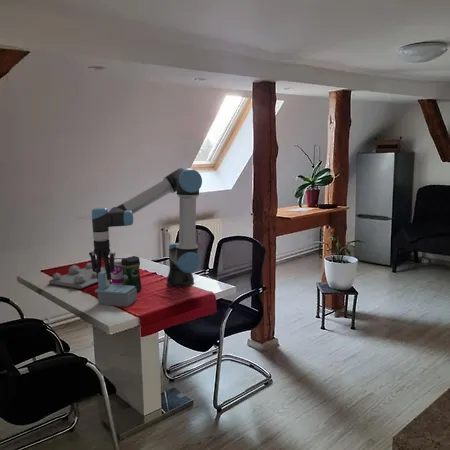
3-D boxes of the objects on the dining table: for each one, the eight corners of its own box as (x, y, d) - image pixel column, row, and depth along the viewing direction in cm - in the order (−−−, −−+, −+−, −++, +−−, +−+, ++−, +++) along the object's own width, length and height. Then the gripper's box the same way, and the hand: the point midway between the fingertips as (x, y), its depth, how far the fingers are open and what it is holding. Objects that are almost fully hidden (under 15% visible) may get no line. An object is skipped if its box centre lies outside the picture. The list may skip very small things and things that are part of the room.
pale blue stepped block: (135, 287, 227) (134, 270, 225) (125, 294, 216) (124, 276, 215) (105, 285, 231) (104, 268, 229) (94, 292, 221) (93, 274, 219)
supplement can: (123, 289, 244) (121, 262, 242) (109, 288, 246) (107, 261, 243) (129, 284, 252) (128, 258, 250) (115, 284, 254) (114, 258, 251)
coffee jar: (134, 287, 248) (132, 254, 245) (143, 289, 243) (142, 256, 240) (120, 291, 241) (118, 257, 237) (129, 294, 236) (127, 259, 232)
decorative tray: (91, 269, 285) (90, 254, 284) (123, 274, 274) (122, 258, 272) (47, 285, 255) (45, 268, 253) (81, 291, 243) (80, 273, 241)
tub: (137, 299, 227) (136, 288, 226) (128, 306, 218) (127, 294, 217) (108, 297, 231) (107, 286, 230) (98, 304, 222) (97, 292, 221)
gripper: (119, 238, 222) (122, 284, 226) (90, 237, 226) (93, 282, 230) (112, 241, 215) (115, 289, 219) (82, 240, 219) (85, 286, 223)
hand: (104, 285), depth 225 cm, fingers closed on pale blue stepped block, 3 cm apart
